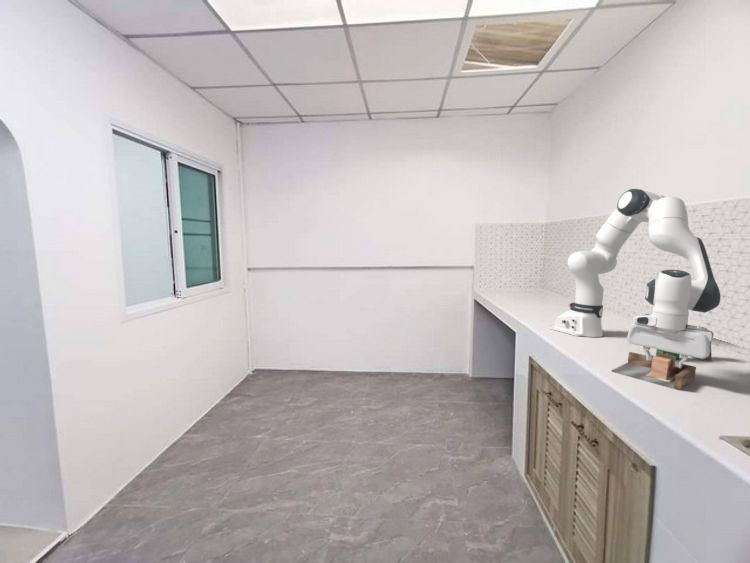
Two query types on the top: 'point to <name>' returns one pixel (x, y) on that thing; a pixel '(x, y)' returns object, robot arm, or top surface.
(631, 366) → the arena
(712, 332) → the cork
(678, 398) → the top surface
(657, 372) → the terracotta block
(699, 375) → the top surface
